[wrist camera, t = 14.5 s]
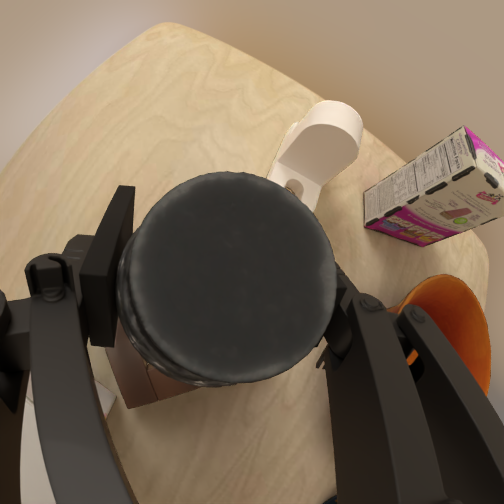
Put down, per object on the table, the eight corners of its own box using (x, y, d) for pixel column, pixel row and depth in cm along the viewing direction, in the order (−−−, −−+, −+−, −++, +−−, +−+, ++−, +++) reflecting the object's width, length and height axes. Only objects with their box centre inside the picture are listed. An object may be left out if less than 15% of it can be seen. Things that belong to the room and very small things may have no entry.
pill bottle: (259, 306, 18) (397, 277, 7) (187, 381, 15) (251, 469, 5) (187, 230, 17) (243, 106, 7) (110, 301, 15) (37, 259, 5)
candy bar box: (420, 214, 37) (513, 170, 22) (422, 248, 35) (524, 211, 20) (361, 189, 34) (464, 121, 19) (361, 227, 32) (479, 168, 17)
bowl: (432, 288, 35) (492, 275, 25) (427, 436, 29) (483, 448, 20) (299, 286, 28) (367, 267, 19) (295, 485, 23) (350, 531, 14)
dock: (130, 399, 21) (127, 409, 18) (87, 256, 22) (79, 248, 20) (265, 354, 25) (278, 357, 23) (221, 222, 27) (230, 210, 24)
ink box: (79, 462, 17) (48, 534, 7) (5, 404, 16) (-63, 440, 6) (119, 394, 21) (97, 449, 10) (40, 333, 19) (-32, 337, 9)
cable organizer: (325, 152, 33) (376, 104, 24) (304, 220, 30) (365, 179, 21) (287, 129, 32) (331, 73, 23) (258, 196, 29) (306, 142, 20)
